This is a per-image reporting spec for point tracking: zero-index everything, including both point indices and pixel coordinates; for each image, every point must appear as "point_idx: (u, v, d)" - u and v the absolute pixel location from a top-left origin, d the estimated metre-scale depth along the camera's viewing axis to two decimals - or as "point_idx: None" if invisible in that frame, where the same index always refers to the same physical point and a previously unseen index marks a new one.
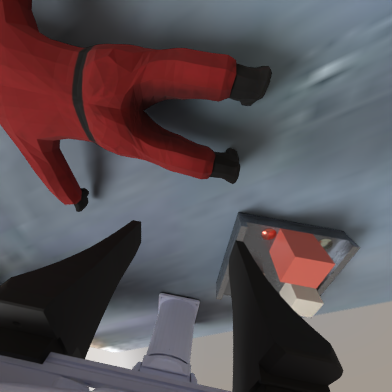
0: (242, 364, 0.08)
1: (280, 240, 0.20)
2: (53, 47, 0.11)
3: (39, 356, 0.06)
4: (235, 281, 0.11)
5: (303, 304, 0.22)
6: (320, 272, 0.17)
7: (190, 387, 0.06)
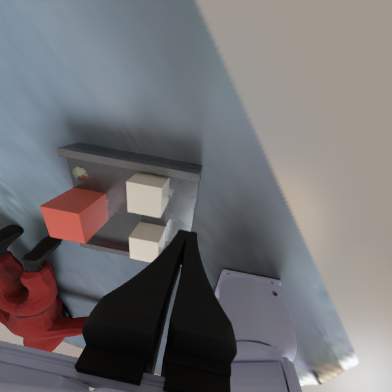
0: None
1: None
2: (10, 313, 0.30)
3: (139, 378, 0.06)
4: (181, 270, 0.11)
5: (136, 202, 0.17)
6: (56, 215, 0.17)
7: None
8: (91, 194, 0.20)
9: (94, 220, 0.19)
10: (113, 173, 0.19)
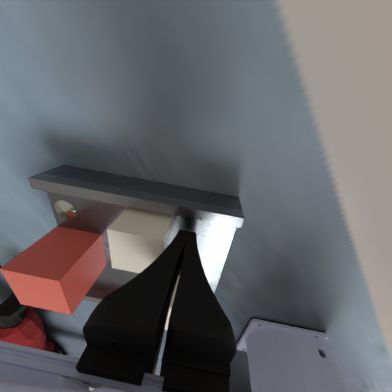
0: None
1: None
2: None
3: (140, 378, 0.06)
4: None
5: (125, 257, 0.11)
6: (25, 280, 0.11)
7: None
8: (81, 238, 0.14)
9: (84, 277, 0.13)
10: (112, 210, 0.13)
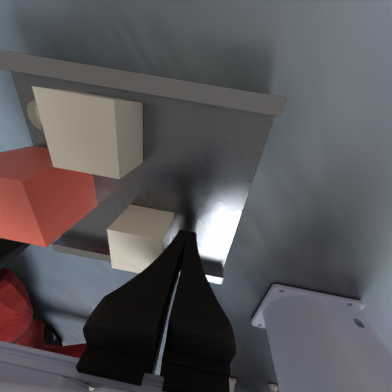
0: None
1: None
2: None
3: (140, 378, 0.06)
4: None
5: (66, 143, 0.08)
6: None
7: None
8: None
9: (66, 202, 0.10)
10: None
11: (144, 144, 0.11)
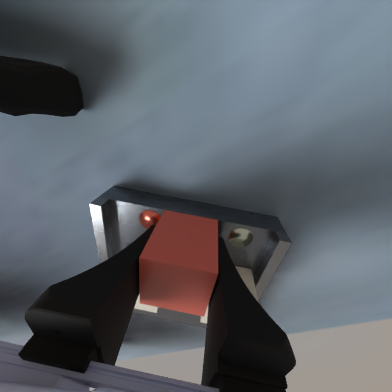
0: (208, 357, 0.08)
1: None
2: None
3: (82, 366, 0.06)
4: None
5: None
6: (198, 288, 0.09)
7: (190, 387, 0.06)
8: None
9: None
10: None
11: None
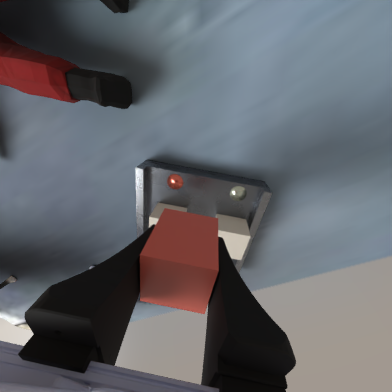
0: (208, 357, 0.08)
1: None
2: None
3: (82, 366, 0.06)
4: None
5: (227, 239, 0.17)
6: (198, 286, 0.09)
7: (190, 387, 0.06)
8: None
9: None
10: None
11: None
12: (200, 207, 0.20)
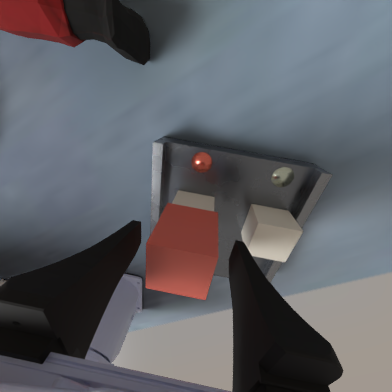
0: (242, 364, 0.08)
1: None
2: None
3: (39, 356, 0.06)
4: (235, 281, 0.11)
5: (270, 236, 0.14)
6: (200, 272, 0.10)
7: (190, 387, 0.06)
8: None
9: None
10: None
11: None
12: (230, 196, 0.16)
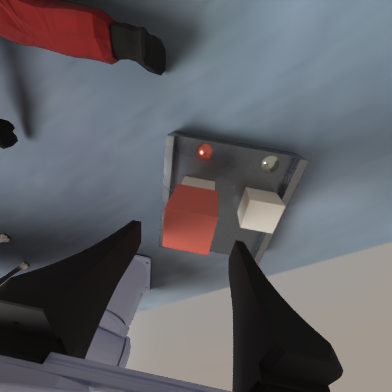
0: (242, 364, 0.08)
1: None
2: None
3: (39, 356, 0.06)
4: (235, 281, 0.11)
5: (260, 210, 0.17)
6: (204, 230, 0.13)
7: (190, 387, 0.06)
8: None
9: None
10: None
11: None
12: (228, 180, 0.19)
